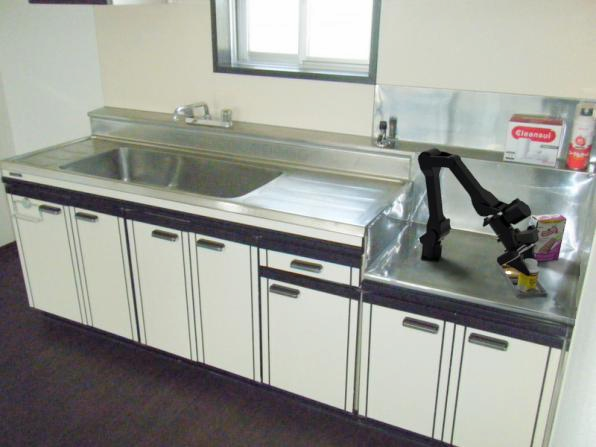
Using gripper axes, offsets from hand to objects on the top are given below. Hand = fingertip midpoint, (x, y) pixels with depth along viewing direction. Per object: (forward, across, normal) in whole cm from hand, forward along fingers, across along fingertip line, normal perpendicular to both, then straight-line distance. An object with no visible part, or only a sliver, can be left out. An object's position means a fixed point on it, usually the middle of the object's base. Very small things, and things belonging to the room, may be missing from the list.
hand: (533, 272), depth 183 cm
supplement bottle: (+4, 0, +6) cm, 7 cm away
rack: (+1, +4, +8) cm, 10 cm away
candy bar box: (0, +25, +10) cm, 27 cm away
